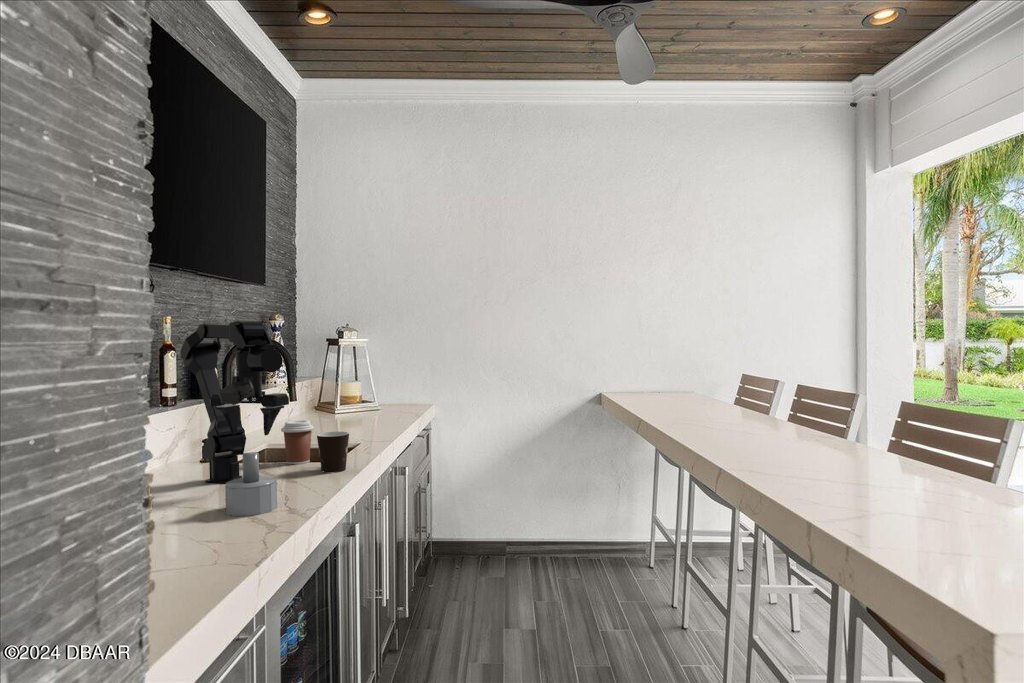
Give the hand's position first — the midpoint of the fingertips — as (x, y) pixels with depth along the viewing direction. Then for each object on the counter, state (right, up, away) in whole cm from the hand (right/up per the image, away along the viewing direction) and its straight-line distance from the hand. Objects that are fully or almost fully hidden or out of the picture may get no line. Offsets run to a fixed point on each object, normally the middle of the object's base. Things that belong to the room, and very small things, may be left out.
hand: (250, 434), depth 153 cm
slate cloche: (+8, -13, -19) cm, 25 cm away
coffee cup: (+2, -13, +30) cm, 33 cm away
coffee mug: (+16, -13, +20) cm, 28 cm away
